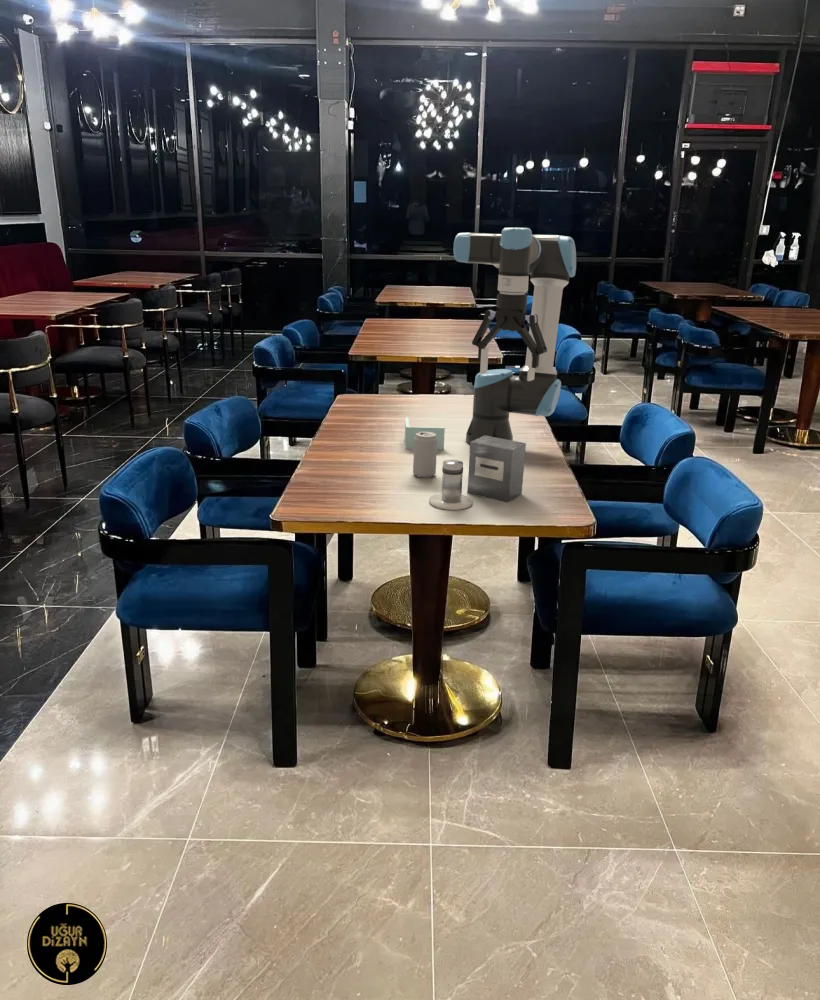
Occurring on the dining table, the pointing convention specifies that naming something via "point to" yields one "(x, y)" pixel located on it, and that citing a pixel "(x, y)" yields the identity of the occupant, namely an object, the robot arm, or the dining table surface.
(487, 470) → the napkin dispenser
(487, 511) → the dining table surface
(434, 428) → the l-shaped corner panel
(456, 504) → the stone coaster
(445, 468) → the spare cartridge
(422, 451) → the beverage can
